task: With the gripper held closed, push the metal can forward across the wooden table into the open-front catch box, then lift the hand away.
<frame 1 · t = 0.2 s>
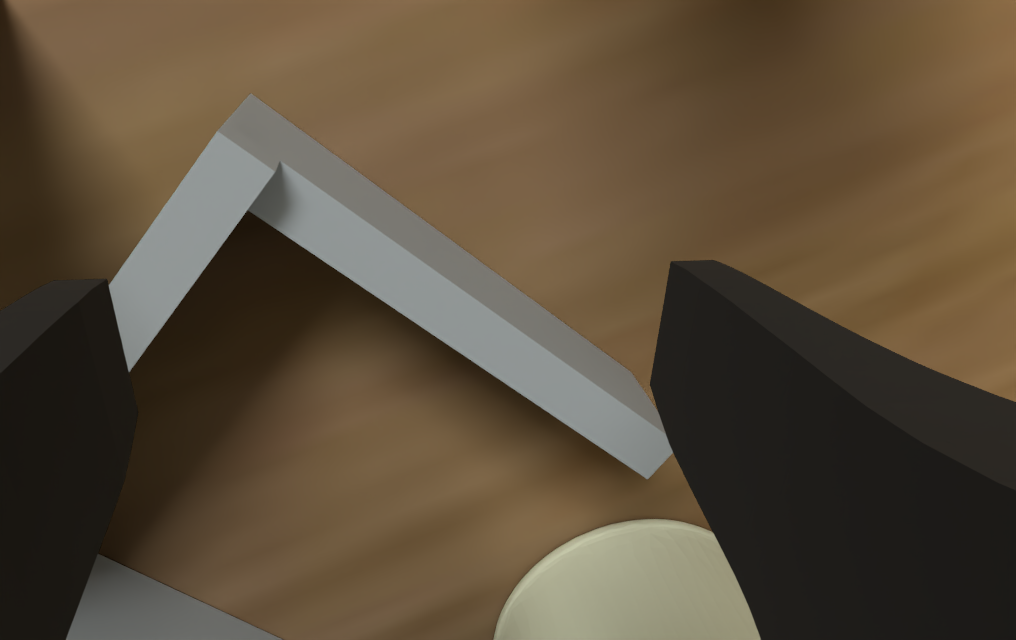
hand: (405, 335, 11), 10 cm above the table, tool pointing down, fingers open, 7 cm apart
can: (625, 627, 28), on the table
catch box: (298, 444, 23), on the table
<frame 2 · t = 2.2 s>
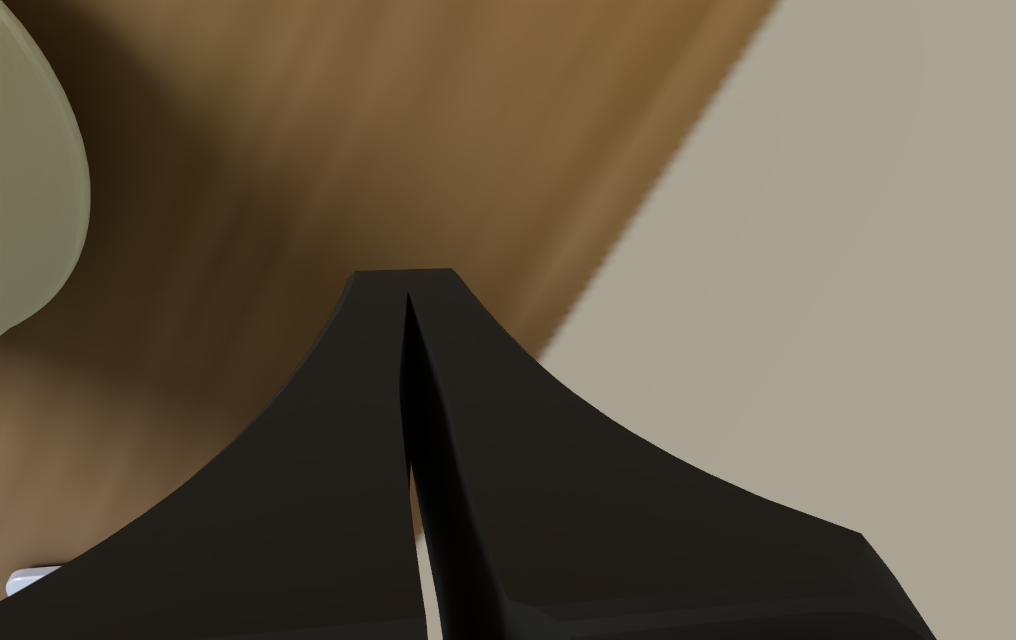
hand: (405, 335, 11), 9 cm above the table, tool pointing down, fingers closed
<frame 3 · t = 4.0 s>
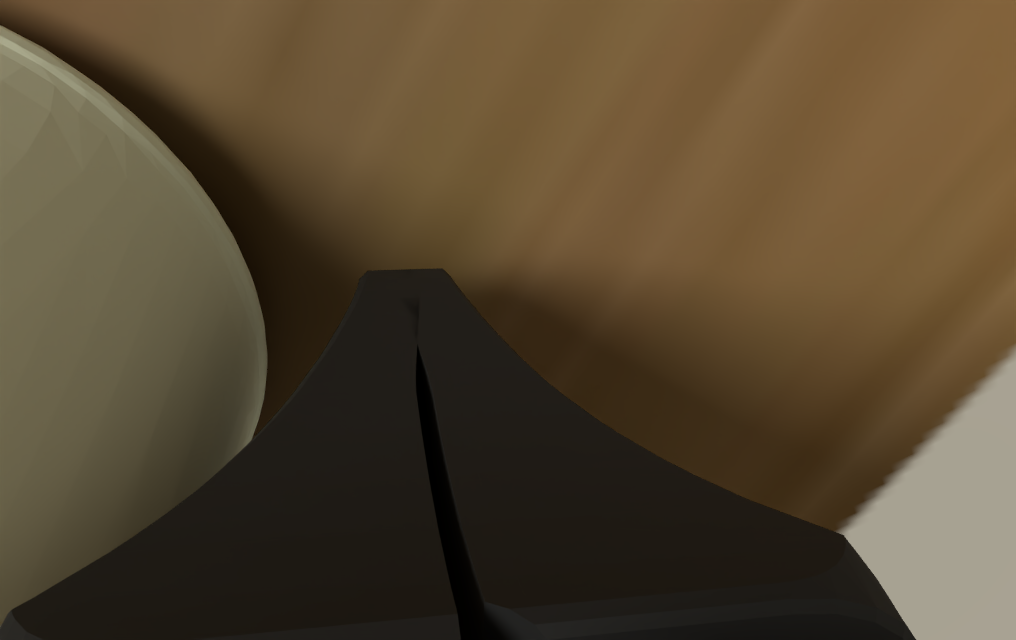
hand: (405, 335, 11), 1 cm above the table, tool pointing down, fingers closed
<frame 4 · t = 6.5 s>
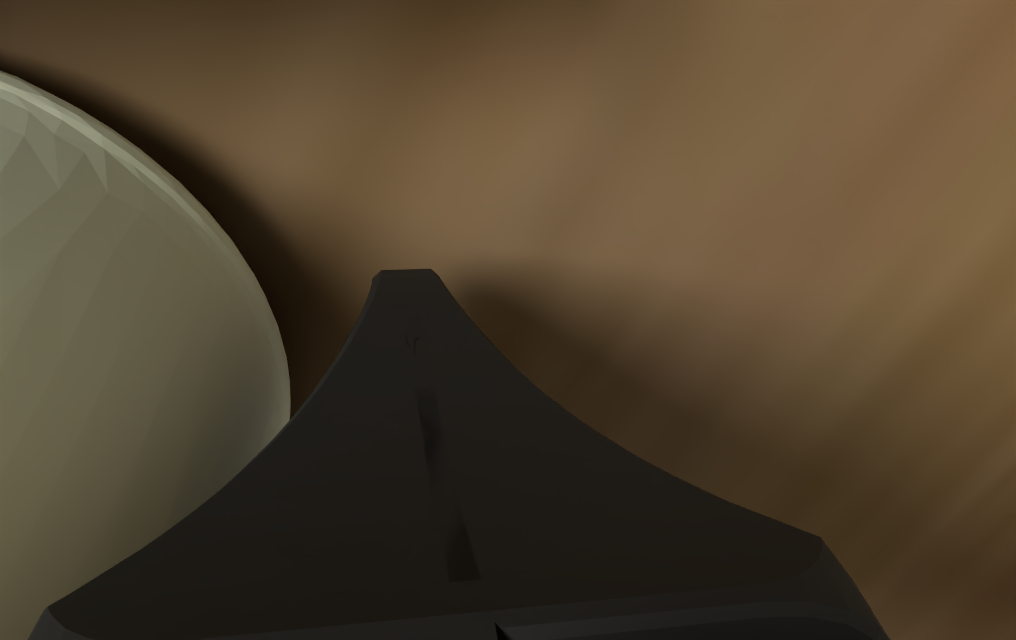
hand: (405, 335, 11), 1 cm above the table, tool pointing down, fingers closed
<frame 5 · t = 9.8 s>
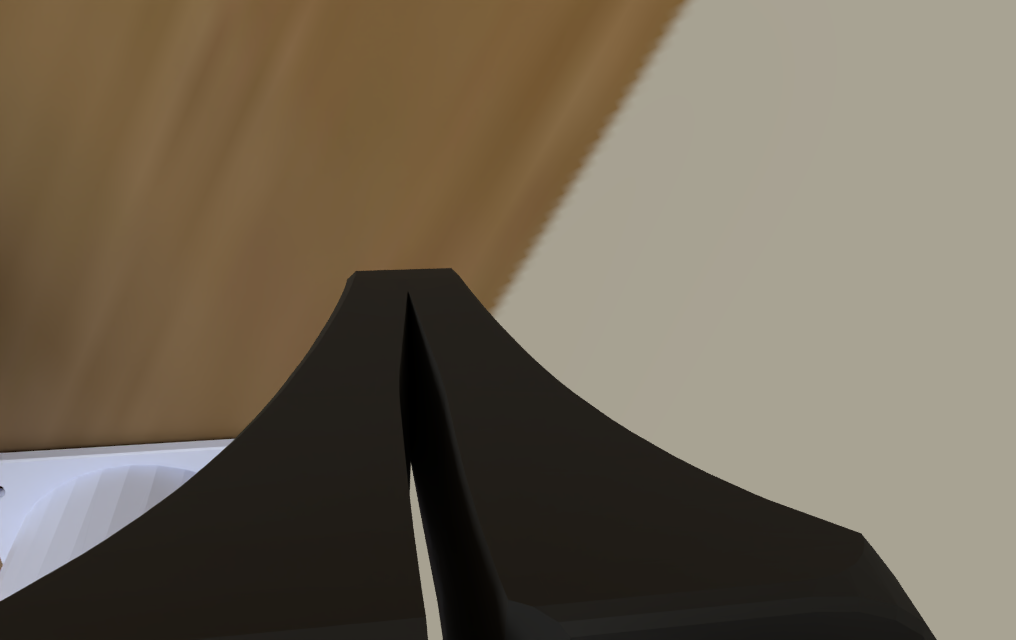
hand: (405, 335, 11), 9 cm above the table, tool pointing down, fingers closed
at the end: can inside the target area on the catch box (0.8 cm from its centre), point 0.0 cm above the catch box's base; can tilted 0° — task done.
